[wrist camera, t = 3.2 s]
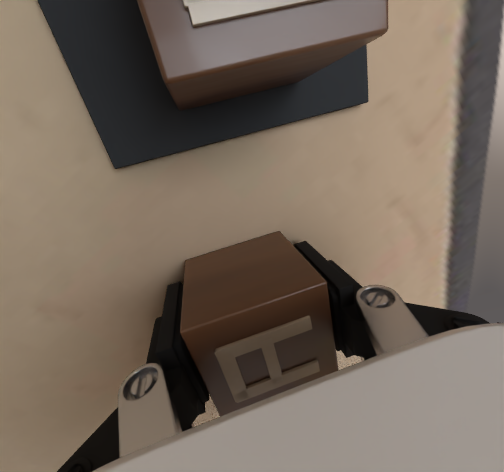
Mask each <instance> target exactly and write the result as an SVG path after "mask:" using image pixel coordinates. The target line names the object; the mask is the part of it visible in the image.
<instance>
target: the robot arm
mask: <svg viewBox="0 0 504 472" xmlns="http://www.w3.org/2000/svg"><path fill="white" fill-rule="evenodd" d="M294 247H295V248H296V249H297V250H298V252H299V253H300V254H301V255H302V256H303V257H304V258H305V259H306V260H307V261H308V262H309V263H310V264H311V265H312V267H313V268H314V269H315V270H316V271H317V272H318V273H319V274H320V275H321V276H322V277H323V278H324V279H325V280H326V282H327V288H328V295H329V303H330V310H331V318H332V325H333V333H334V341H335V348H336V350H337V351H340V350H341V351H342V352H343V353H344V355H345V356H346V358H347V357H350V356H353V355H356V356H360V357H361V360H362V362H359V363H357V364H354V365H352V366H349V367H346V368H344V369H341V370H339V371H336V372H333V373H331V374H328V375H325V376H323V377H320V378H318V379H315V380H313V381H310V382H308V383H305V384H302V385H300V386H297V387H295V388H292V389H290V390H287V391H284V392H282V393H279V394H277V395H274V396H272V397H269V398H266V399H264V400H261V401H259V402H256V403H254V404H251V405H249V406H246V407H244V408H241V409H238V410H236V411H233V412H231V413H228V414H226V415H223V416H221V417H218V418H216V419H213V420H211V421H208V422H206V423H203V424H201V425H198V426H196V427H194V424H193V422H194V420H195V419H196V417H197V416H198V415H200V414H202V413H205V402H206V401H209V392H208V390H207V388H206V386H205V384H204V382H203V380H202V377H201V375H200V373H199V371H198V369H197V367H196V365H195V363H194V361H193V359H192V357H191V355H190V353H189V350H188V348H187V346H186V344H185V342H184V340H183V338H182V336H181V334H180V325H181V312H182V298H183V285H184V283H183V284H182V283H181V282H180V281H179V282H176V283H173V284H170V285H168V286H167V292H166V297H165V303H164V308H163V313H162V317H159V318H157V319H156V321H155V324H154V329H153V334H152V338H151V343H150V348H149V352H148V357H147V361H146V364H144V365H142V366H140V367H138V368H137V369H135V370H134V371H132V372H131V373H130V374H129V375H128V376H127V377H126V379H125V380H124V381H123V383H122V384H121V387H120V389H119V392H118V408H117V409H116V410H115V411H114V412H113V413H112V414H111V415H110V416H109V417H108V418H107V419H106V420H105V421H104V422H103V423H102V424H101V425H100V427H99V428H98V429H97V430H96V431H95V432H94V433H93V434H92V435H91V436H90V437H89V438H88V439H87V440H86V441H85V442H84V443H83V445H82V446H81V447H80V448H79V449H78V450H77V451H76V452H75V453H74V454H73V455H72V456H71V457H70V458H69V459H68V460H67V461H66V462H65V464H64V465H63V466H62V467H61V468H60V469H59V470H58V471H57V472H504V323H495V324H490V323H489V322H487V321H485V320H484V319H482V318H480V317H478V316H475V315H472V314H468V313H464V312H458V311H452V310H446V309H440V308H434V307H428V306H422V305H416V304H410V303H404V301H403V300H402V299H401V297H400V296H399V295H398V294H397V293H396V292H395V291H394V290H393V289H391V288H389V287H386V286H382V285H368V286H364V287H362V286H361V285H360V284H359V283H357V282H356V281H355V280H354V279H353V278H352V277H351V276H349V275H348V274H347V273H346V272H345V271H344V270H343V269H341V268H340V267H339V266H338V265H337V264H336V263H335V262H333V261H332V260H329V261H327V260H326V259H325V258H324V257H323V256H322V255H321V254H320V253H318V252H317V251H316V250H315V249H314V248H313V247H312V246H311V245H310V244H308V243H307V242H306V241H303V242H300V243H297V244H294Z"/></svg>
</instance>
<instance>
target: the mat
mask: <svg viewBox="0 0 504 472" xmlns="http://www.w3.org/2000/svg"><path fill="white" fill-rule="evenodd" d="M38 3H39V5H40V7H41V9H42V11H43V13H44V16H45V18H46V20H47V22H48V24H49V27H50V29H51V31H52V33H53V35H54V37H55V40H56V42H57V44H58V46H59V48H60V50H61V53H62V55H63V57H64V59H65V61H66V64H67V66H68V68H69V70H70V72H71V74H72V77H73V79H74V81H75V83H76V85H77V88H78V90H79V92H80V94H81V96H82V98H83V101H84V103H85V105H86V107H87V109H88V111H89V114H90V116H91V118H92V120H93V122H94V125H95V127H96V129H97V131H98V133H99V135H100V138H101V140H102V142H103V144H104V146H105V149H106V151H107V153H108V155H109V157H110V159H111V162H112V164H113V166H114V168H115V169H117V168H121V167H125V166H129V165H132V164H136V163H140V162H144V161H148V160H151V159H155V158H159V157H163V156H166V155H170V154H174V153H178V152H182V151H185V150H189V149H193V148H197V147H200V146H204V145H208V144H212V143H216V142H219V141H223V140H227V139H231V138H235V137H238V136H242V135H246V134H250V133H253V132H257V131H261V130H265V129H269V128H272V127H276V126H280V125H284V124H287V123H291V122H295V121H299V120H303V119H306V118H310V117H314V116H318V115H321V114H325V113H329V112H333V111H337V110H340V109H344V108H348V107H352V106H355V105H359V104H363V103H367V102H368V77H367V49H366V45H364V46H362V47H361V48H359V49H357V50H355V51H353V52H352V53H350V54H348V55H346V56H344V57H343V58H341V59H339V60H337V61H335V62H334V63H332V64H330V65H328V66H326V67H325V68H323V69H321V70H319V71H317V72H316V73H314V74H312V75H310V76H308V77H307V78H305V79H303V80H301V81H299V82H296V83H292V84H288V85H284V86H280V87H276V88H272V89H268V90H264V91H260V92H256V93H251V94H247V95H243V96H239V97H235V98H231V99H227V100H223V101H219V102H215V103H211V104H207V105H203V106H199V107H195V108H191V109H186V110H182V111H181V110H179V109H178V108H177V106H176V104H175V102H174V100H173V98H172V96H171V94H170V92H169V90H168V88H167V86H166V84H165V83H164V81H163V78H162V75H161V72H160V69H159V66H158V63H157V60H156V57H155V54H154V51H153V48H152V45H151V42H150V39H149V36H148V33H147V30H146V27H145V24H144V21H143V18H142V15H141V12H140V9H139V5H138V2H137V0H38Z"/></svg>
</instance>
